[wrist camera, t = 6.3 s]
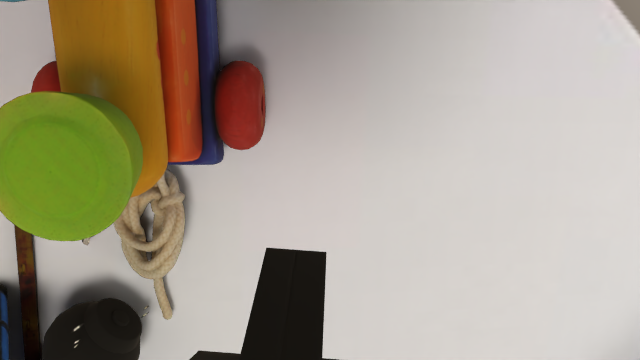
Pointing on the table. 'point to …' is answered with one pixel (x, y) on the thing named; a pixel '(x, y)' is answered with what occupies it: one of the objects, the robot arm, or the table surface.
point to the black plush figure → (94, 332)
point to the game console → (4, 324)
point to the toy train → (124, 124)
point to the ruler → (27, 293)
